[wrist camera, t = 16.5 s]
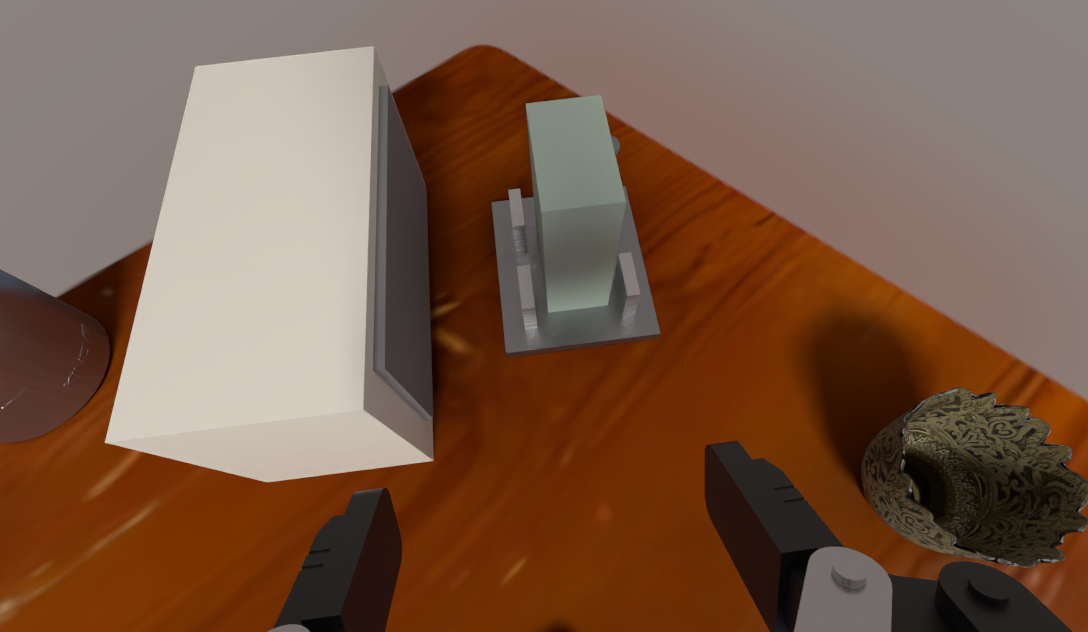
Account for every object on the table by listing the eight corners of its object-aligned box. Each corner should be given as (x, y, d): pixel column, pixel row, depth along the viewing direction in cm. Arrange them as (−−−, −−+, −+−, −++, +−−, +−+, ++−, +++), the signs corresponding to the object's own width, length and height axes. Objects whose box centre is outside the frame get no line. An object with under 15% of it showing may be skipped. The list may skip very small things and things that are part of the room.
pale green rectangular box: (548, 312, 34) (541, 211, 24) (535, 225, 37) (525, 103, 27) (622, 303, 34) (647, 199, 24) (604, 217, 37) (619, 92, 27)
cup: (877, 402, 32) (971, 356, 24) (987, 502, 29) (1129, 485, 22) (794, 479, 30) (869, 455, 23) (903, 594, 27) (1027, 608, 20)
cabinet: (267, 482, 31) (104, 442, 20) (296, 200, 40) (195, 66, 29) (441, 459, 31) (375, 407, 20) (432, 184, 40) (382, 45, 29)
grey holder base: (507, 357, 34) (500, 334, 30) (492, 208, 39) (485, 174, 35) (658, 338, 34) (669, 313, 30) (624, 193, 39) (630, 157, 35)
